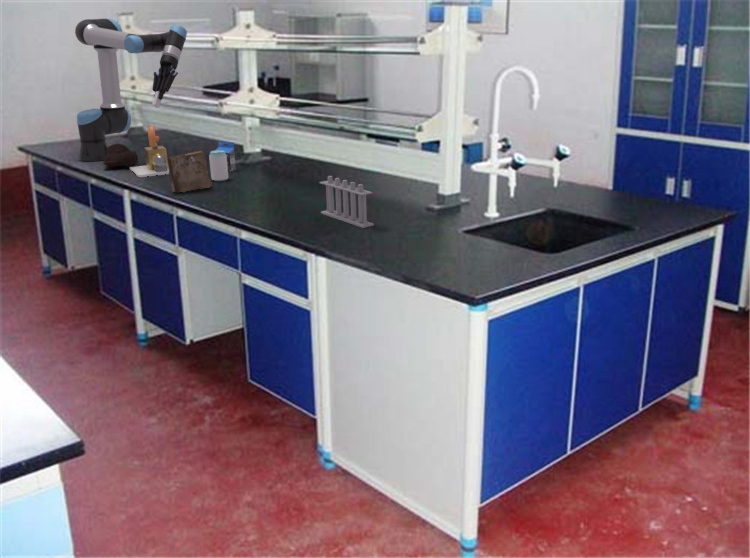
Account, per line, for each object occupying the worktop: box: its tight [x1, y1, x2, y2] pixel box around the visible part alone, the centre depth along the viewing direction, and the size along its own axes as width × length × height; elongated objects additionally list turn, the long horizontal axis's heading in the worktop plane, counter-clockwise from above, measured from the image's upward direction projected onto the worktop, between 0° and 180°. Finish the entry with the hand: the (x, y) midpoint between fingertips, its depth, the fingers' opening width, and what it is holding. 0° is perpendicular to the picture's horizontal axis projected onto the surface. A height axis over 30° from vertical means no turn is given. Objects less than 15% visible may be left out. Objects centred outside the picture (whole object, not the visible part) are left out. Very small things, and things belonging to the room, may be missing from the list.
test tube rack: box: [318, 175, 375, 229], centre depth 255 cm, size 25×4×13 cm, turn 36°
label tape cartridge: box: [215, 141, 237, 173], centre depth 341 cm, size 9×4×12 cm, turn 62°
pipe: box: [102, 143, 139, 168], centre depth 356 cm, size 10×15×15 cm
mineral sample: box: [167, 149, 213, 194], centre depth 304 cm, size 17×4×15 cm, turn 126°
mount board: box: [129, 164, 170, 178], centre depth 346 cm, size 22×21×1 cm
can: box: [208, 149, 229, 182], centre depth 322 cm, size 7×7×12 cm
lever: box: [147, 125, 160, 147], centre depth 336 cm, size 17×4×7 cm, turn 13°
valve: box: [143, 142, 168, 172], centre depth 345 cm, size 20×8×12 cm, turn 27°
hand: (155, 105), depth 337 cm, fingers closed
